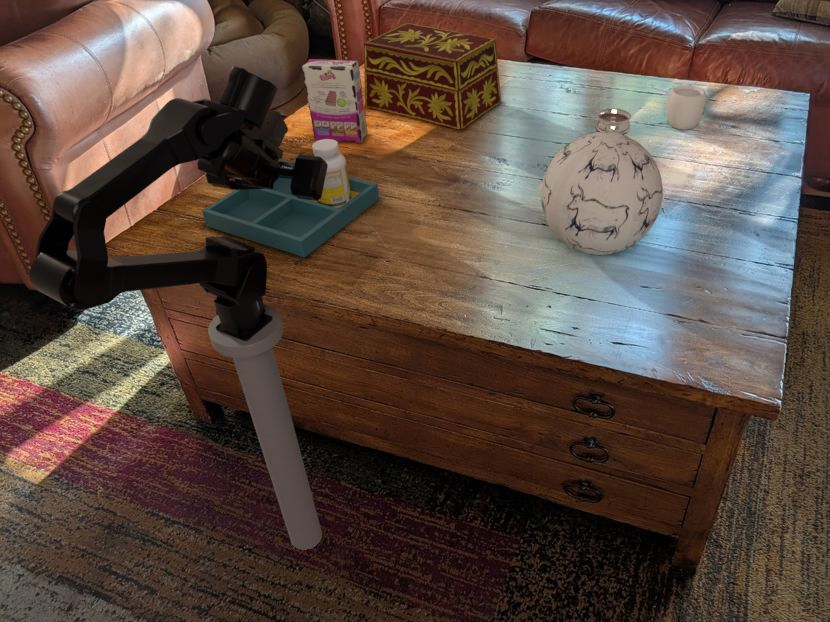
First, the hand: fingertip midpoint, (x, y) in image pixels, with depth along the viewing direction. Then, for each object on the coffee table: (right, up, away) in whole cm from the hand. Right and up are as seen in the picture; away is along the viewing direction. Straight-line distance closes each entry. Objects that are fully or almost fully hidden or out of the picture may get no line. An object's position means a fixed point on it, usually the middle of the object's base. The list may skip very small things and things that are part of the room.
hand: (291, 188), depth 119 cm
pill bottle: (+3, +2, +20) cm, 20 cm away
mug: (+78, +26, +48) cm, 95 cm away
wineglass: (+57, +10, +30) cm, 65 cm away
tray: (-4, 0, +19) cm, 20 cm away
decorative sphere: (+51, -8, +9) cm, 53 cm away
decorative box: (+20, +34, +57) cm, 69 cm away
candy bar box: (0, +22, +44) cm, 49 cm away
